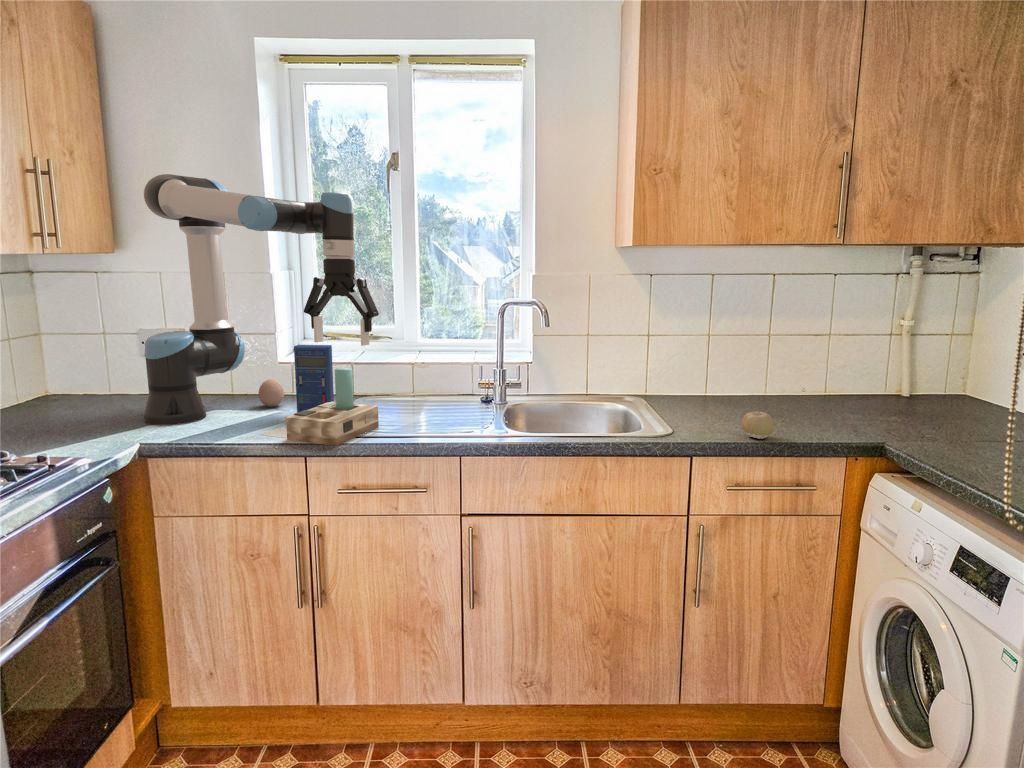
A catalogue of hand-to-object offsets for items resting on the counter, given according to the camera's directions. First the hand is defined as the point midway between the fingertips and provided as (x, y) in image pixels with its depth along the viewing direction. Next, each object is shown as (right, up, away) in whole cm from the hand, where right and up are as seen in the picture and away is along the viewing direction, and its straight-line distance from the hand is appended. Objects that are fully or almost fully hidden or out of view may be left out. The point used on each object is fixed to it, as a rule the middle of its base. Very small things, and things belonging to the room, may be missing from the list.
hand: (341, 343), depth 163 cm
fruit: (+106, -24, +3) cm, 109 cm away
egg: (-28, -17, +29) cm, 44 cm away
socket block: (-2, -23, 0) cm, 23 cm away
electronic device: (-12, -19, +18) cm, 29 cm away
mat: (-15, -23, -1) cm, 27 cm away
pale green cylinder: (0, -20, +4) cm, 21 cm away
